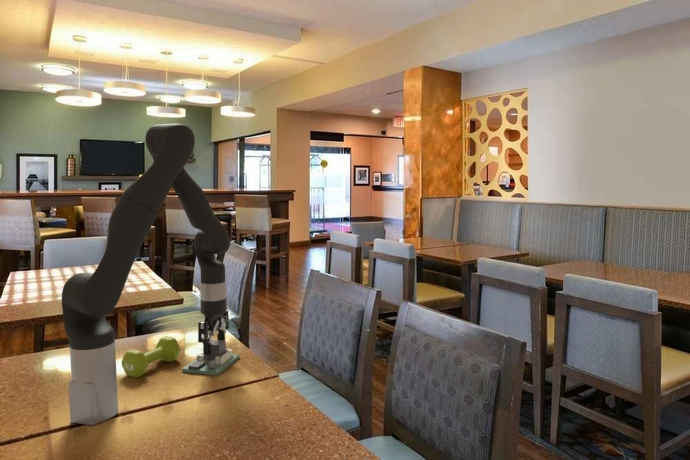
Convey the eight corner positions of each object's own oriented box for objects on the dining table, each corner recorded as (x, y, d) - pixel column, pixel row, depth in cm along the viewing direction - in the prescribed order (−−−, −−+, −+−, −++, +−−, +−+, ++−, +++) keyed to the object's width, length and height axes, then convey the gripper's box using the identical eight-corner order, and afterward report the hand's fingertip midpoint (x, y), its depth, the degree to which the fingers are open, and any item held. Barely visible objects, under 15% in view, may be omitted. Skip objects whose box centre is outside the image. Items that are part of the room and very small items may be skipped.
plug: (219, 361, 142) (219, 345, 141) (202, 360, 143) (202, 343, 143) (226, 357, 146) (225, 340, 145) (209, 355, 147) (209, 339, 147)
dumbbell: (139, 381, 131) (138, 355, 131) (118, 376, 135) (117, 351, 134) (183, 360, 146) (182, 337, 145) (163, 356, 150) (162, 333, 149)
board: (217, 375, 135) (217, 365, 134) (182, 372, 137) (181, 361, 137) (239, 357, 148) (239, 348, 148) (207, 354, 151) (206, 345, 150)
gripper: (213, 303, 135) (214, 359, 137) (236, 292, 149) (236, 343, 150) (188, 301, 137) (190, 357, 138) (213, 290, 150) (214, 341, 152)
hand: (214, 349), depth 144 cm, fingers open, 8 cm apart
